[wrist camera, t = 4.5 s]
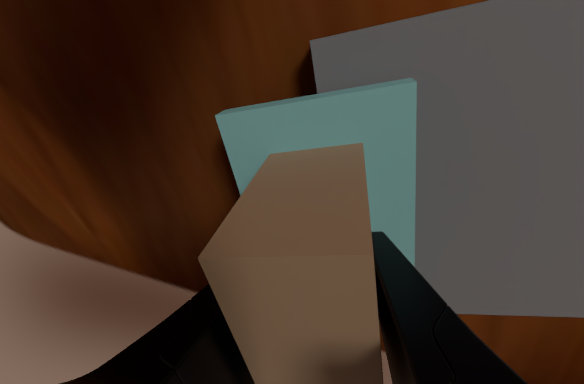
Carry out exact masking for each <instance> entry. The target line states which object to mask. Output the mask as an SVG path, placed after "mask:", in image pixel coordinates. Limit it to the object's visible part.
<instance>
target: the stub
mask: <svg viewBox="0 0 584 384" xmlns="http://www.w3.org/2000/svg"><path fill="white" fill-rule="evenodd" d="M416 111H417V81H415V80H414V79H413V78H406V79H400V80H395V81H389V82H383V83H377V84H371V85H366V86H360V87H354V88H348V89H342V90H337V91H331V92H325V93H319V94H314V95H308V96H302V97H296V98H290V99H285V100H279V101H273V102H267V103H261V104H256V105H250V106H244V107H238V108H232V109H227V110H224V111H222V112H220V113H219V114H217V115H215V117H216V121H217V124H218V127H219V130H220V133H221V136H222V139H223V142H224V145H225V149H226V152H227V155H228V158H229V161H230V164H231V167H232V170H233V174H234V177H235V180H236V183H237V186H238V189H239V192H240V195H241V196H240V198H239V199H238V201H237V202H236V203H235V205H234V206H233V208H232V209H231V211H230V212H229V214H228V215H227V217H226V218H225V219H224V221H223V222H222V224H221V225H220V227H219V228H218V230H217V231H216V232H215V234H214V235H213V237H212V238H211V240H210V241H209V243H208V244H207V245H206V247H205V248H204V250H203V251H202V253H201V254H200V256H199V257H198V260H199V262H200V265H201V267H202V269H203V271H204V273H205V275H206V278H207V280H208V282H209V284H210V286H211V289H212V291H213V293H214V295H215V297H216V300H217V302H218V304H219V306H220V308H221V310H222V313H223V315H224V317H225V319H226V321H227V324H228V326H229V328H230V330H231V332H232V335H233V337H234V339H235V341H236V343H237V345H238V348H239V350H240V352H241V354H242V356H243V359H244V361H245V363H246V365H247V367H248V370H249V372H250V374H251V376H252V378H253V380H254V383H255V384H383V372H382V359H381V345H380V332H379V319H378V306H377V293H376V280H375V267H374V254H373V243H372V233H371V232H376V231H382V232H384V233H385V234H386V235H387V236H388V238H389V239H390V240H391V241H392V242H393V243H394V244H395V246H396V247H397V248H398V249H399V250H400V251H401V252H402V253H403V255H404V256H405V257H406V258H407V259H408V260H409V261H410V262H411V264H412V265H413V266H414V267H415V194H416Z"/></svg>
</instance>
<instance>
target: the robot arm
mask: <svg viewBox="0 0 584 384" xmlns="http://www.w3.org/2000/svg"><path fill="white" fill-rule="evenodd" d="M371 233H372V243H373V254H374V267H375V280H376V293H377V306H378V318H379V322H380V327H381V332H382V336H383V341H384V346H385V350H386V355H387V360H388V364H389V369H390V373H391V378H392V383H393V384H527V383H526V382H525V381H524V380H523V379H522V378H521V377H520V376H519V375H518V374H517V373H516V372H514V371H513V370H512V369H511V368H510V367H509V366H508V365H507V364H506V363H505V362H504V361H503V360H502V359H500V358H499V357H498V356H497V355H496V354H495V353H494V352H493V351H492V350H491V349H490V348H489V347H488V346H487V345H486V344H485V343H484V342H483V341H482V340H481V339H479V338H478V337H477V336H476V335H475V334H474V333H473V331H472V330H471V329H470V328H469V327H468V326H467V325H466V324H465V323H464V322H463V321H462V320H461V319H460V318H459V316H458V315H457V314H456V313H455V312H454V311H453V310H452V309H451V307H450V306H448V305H447V303H446V302H445V301H444V300H443V299H442V297H441V296H440V295H439V294H438V293H437V292H436V291H435V290H434V288H433V287H432V286H431V285H430V284H429V283H428V282H427V280H426V279H425V278H424V277H423V276H422V275H421V274H420V273H419V271H418V270H417V269H416V268H415V267H414V266H413V265H412V264H411V262H410V261H409V260H408V259H407V258H406V257H405V256H404V255H403V253H402V252H401V251H400V250H399V249H398V248H397V247H396V246H395V244H394V243H393V242H392V241H391V240H390V239H389V238H388V236H387V235H386V234H385V233H384V232H382V231H376V232H371ZM60 384H255V383H254V380H253V378H252V376H251V374H250V372H249V370H248V367H247V365H246V363H245V361H244V359H243V356H242V354H241V352H240V350H239V348H238V345H237V343H236V341H235V339H234V337H233V335H232V332H231V330H230V328H229V326H228V324H227V321H226V319H225V317H224V315H223V313H222V310H221V308H220V306H219V304H218V302H217V300H216V297H215V295H214V293H213V291H212V289H211V286H210V284H208V285H207V286H206V287H204V288H203V289H202V290H201V291H200V292H198V293H197V294H196V295H195V296H193V297H192V299H191V300H189V301H187V302H186V303H185V304H184V305H183V306H181V307H180V308H179V309H178V310H176V311H175V312H174V313H173V314H172V315H170V316H169V317H168V318H166V319H165V320H164V321H162V322H161V323H160V324H159V325H157V326H156V327H155V328H153V329H152V330H150V331H149V332H148V333H146V334H145V335H144V336H142V337H141V338H140V339H138V340H137V341H136V342H134V343H132V344H131V345H130V346H128V347H127V348H126V349H124V350H123V351H121V352H120V353H119V354H117V355H116V356H115V357H113V358H112V359H111V360H109V361H108V362H106V363H105V364H103V365H102V366H100V367H99V368H97V369H96V370H94V371H92V372H90V373H88V374H86V375H84V376H82V377H79V378H77V379H74V380H71V381H68V382H64V383H60Z"/></svg>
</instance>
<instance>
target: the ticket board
mask: <svg viewBox="0 0 584 384" xmlns="http://www.w3.org/2000/svg"><path fill="white" fill-rule="evenodd" d="M310 47H311V54H312V60H313V67H314V74H315V81H316V88H317V94H319V93H325V92H331V91H337V90H342V89H348V88H354V87H360V86H366V85H371V84H377V83H383V82H389V81H395V80H400V79H406V78H413V79H414V80H415V81H417V111H416V194H415V268H416V269H417V270H418V271H419V273H420V274H421V275H422V276H423V277H424V278H425V279H426V280H427V282H428V283H429V284H430V285H431V286H432V287H433V288H434V290H435V291H436V292H437V293H438V294H439V295H440V296H441V297H442V299H443V300H444V301H445V302H446V303H447V305H448V306H450V307H451V309H452V310H453V311H454V312H455V313H456V314H484V315H517V316H550V317H584V0H489V1H485V2H480V3H476V4H471V5H467V6H462V7H458V8H453V9H449V10H444V11H440V12H435V13H431V14H427V15H422V16H418V17H413V18H409V19H404V20H400V21H395V22H391V23H386V24H382V25H377V26H373V27H369V28H364V29H360V30H355V31H351V32H346V33H342V34H337V35H333V36H328V37H324V38H319V39H315V40H311V41H310Z"/></svg>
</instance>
